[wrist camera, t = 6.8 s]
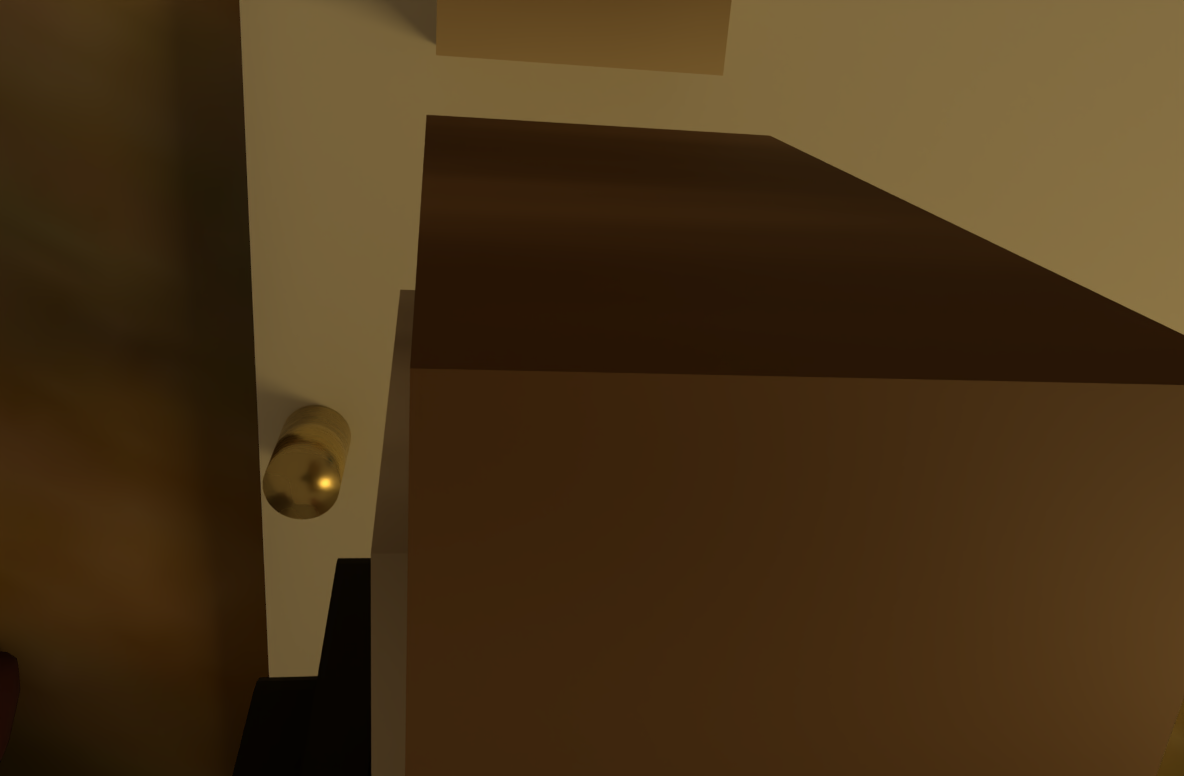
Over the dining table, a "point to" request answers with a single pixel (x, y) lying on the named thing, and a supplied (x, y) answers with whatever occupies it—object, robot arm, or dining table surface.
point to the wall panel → (695, 103)
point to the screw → (308, 463)
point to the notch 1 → (589, 32)
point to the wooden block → (760, 479)
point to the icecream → (7, 696)
